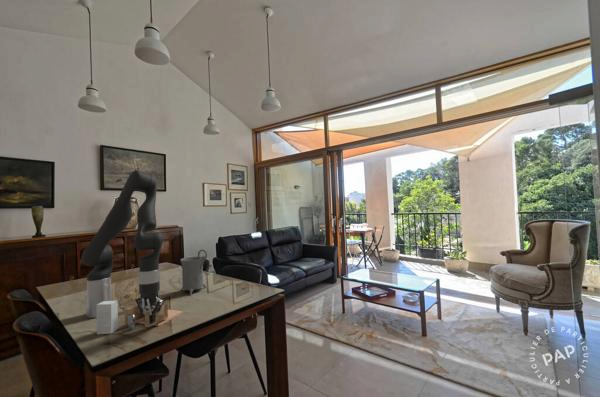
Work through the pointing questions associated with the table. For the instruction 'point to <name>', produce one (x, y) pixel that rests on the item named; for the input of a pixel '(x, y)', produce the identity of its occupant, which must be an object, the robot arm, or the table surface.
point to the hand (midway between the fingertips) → (149, 322)
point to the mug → (193, 272)
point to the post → (131, 322)
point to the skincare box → (107, 317)
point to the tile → (170, 315)
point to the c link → (147, 314)
